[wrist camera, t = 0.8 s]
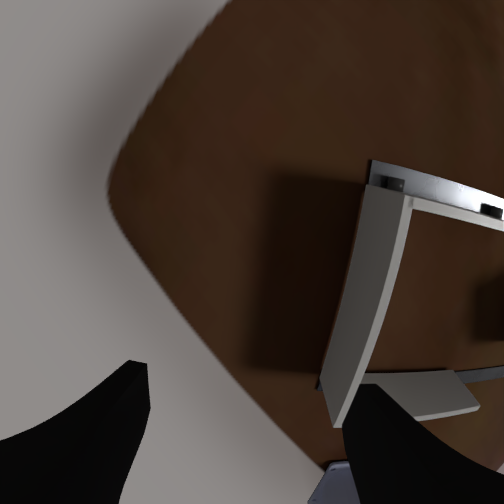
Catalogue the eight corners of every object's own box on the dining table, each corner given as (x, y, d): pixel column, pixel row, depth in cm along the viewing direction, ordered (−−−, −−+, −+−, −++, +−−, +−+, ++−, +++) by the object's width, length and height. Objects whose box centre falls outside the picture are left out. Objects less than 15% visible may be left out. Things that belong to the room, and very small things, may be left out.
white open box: (446, 380, 22) (472, 417, 17) (316, 384, 21) (329, 435, 16) (505, 210, 17) (551, 225, 12) (367, 171, 17) (408, 177, 12)
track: (532, 370, 23) (533, 370, 23) (316, 389, 22) (317, 390, 22) (581, 233, 18) (582, 234, 18) (371, 159, 17) (372, 159, 17)
